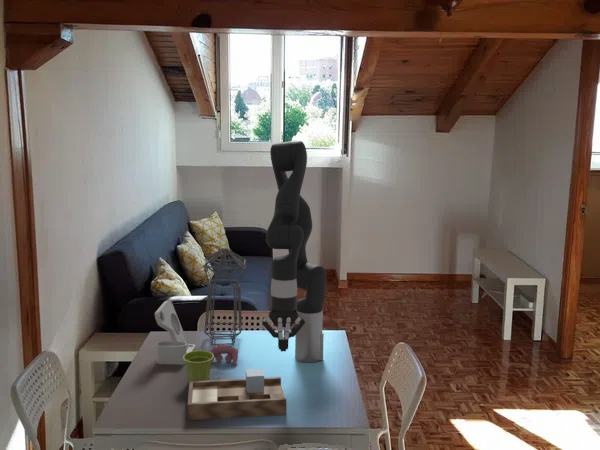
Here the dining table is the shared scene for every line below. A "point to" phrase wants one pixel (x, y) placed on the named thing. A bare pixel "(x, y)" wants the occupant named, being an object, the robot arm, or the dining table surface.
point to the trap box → (234, 399)
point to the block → (254, 380)
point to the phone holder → (179, 346)
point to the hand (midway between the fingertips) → (283, 350)
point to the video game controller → (226, 349)
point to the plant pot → (198, 365)
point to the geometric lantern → (209, 298)
